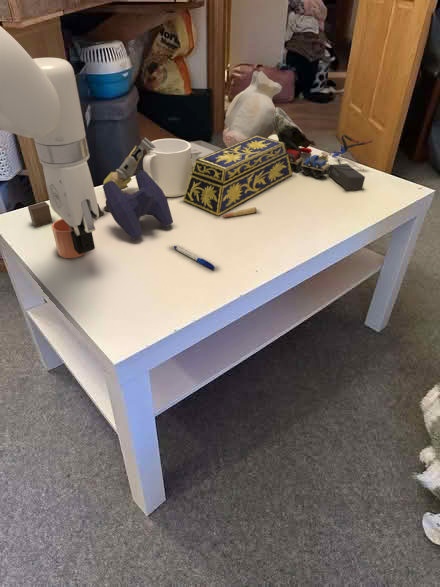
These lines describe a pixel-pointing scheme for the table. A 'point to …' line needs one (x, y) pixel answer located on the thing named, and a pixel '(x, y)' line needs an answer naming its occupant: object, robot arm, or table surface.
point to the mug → (169, 165)
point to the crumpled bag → (251, 111)
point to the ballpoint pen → (195, 258)
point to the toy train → (308, 163)
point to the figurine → (137, 204)
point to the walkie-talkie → (346, 176)
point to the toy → (129, 165)
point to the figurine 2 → (343, 150)
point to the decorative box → (237, 173)
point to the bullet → (241, 212)
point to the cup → (64, 239)
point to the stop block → (40, 214)
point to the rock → (289, 131)
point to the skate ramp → (201, 150)
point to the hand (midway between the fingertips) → (85, 249)
